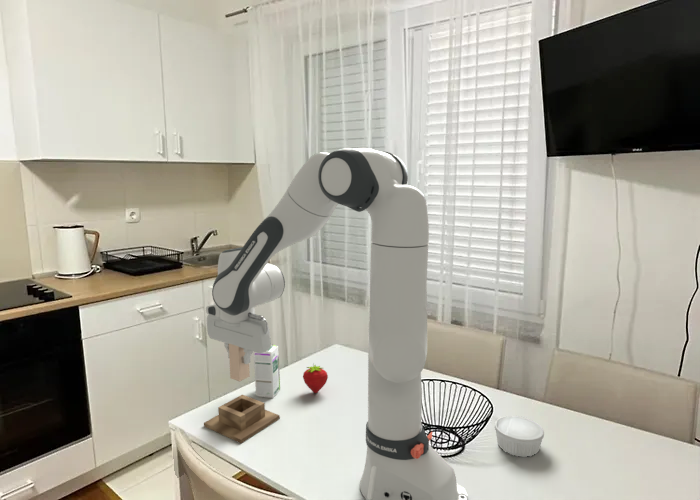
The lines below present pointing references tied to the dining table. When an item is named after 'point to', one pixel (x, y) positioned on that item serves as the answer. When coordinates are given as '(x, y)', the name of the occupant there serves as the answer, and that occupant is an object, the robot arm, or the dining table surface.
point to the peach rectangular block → (237, 363)
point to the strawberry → (315, 378)
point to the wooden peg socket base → (241, 418)
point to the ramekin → (519, 435)
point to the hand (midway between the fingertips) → (239, 360)
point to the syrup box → (267, 372)
